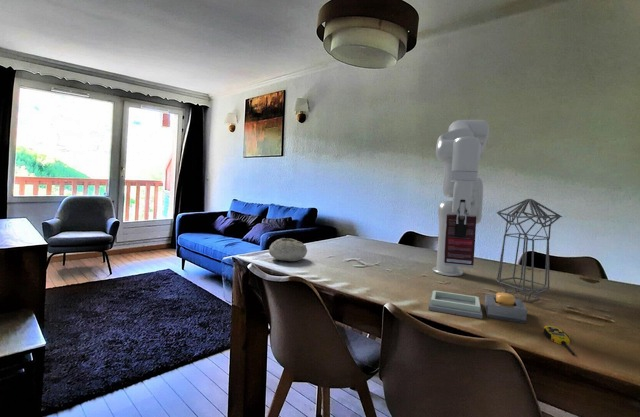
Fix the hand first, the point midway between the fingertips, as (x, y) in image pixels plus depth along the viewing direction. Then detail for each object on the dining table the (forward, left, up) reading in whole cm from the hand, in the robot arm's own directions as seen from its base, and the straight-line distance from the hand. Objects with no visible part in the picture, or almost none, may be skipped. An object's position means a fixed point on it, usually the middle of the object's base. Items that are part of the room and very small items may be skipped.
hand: (459, 235), depth 107 cm
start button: (0, +14, -20) cm, 24 cm away
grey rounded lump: (-29, -74, -23) cm, 83 cm away
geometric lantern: (-22, +22, -23) cm, 39 cm away
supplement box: (0, 0, -10) cm, 10 cm away
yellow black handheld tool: (+14, +25, -24) cm, 37 cm away
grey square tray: (0, 0, -23) cm, 23 cm away
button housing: (0, +14, -23) cm, 27 cm away
